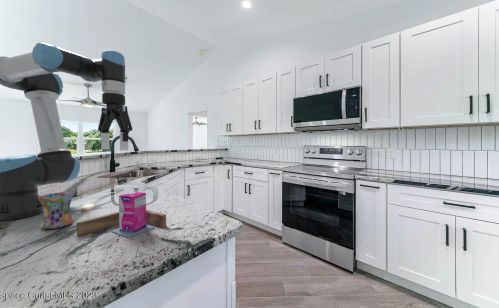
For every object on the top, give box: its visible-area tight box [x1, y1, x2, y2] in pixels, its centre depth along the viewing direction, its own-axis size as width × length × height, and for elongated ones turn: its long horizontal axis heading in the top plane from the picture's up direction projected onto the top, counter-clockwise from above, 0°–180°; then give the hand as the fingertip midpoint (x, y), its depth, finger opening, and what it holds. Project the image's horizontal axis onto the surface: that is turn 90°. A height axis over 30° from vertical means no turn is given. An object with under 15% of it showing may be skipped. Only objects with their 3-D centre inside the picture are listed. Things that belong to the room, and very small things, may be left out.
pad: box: [110, 224, 155, 238], centre depth 72 cm, size 9×9×1 cm
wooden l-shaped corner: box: [76, 209, 167, 237], centre depth 71 cm, size 17×19×4 cm
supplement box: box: [118, 191, 148, 232], centre depth 71 cm, size 6×6×12 cm
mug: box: [38, 191, 75, 230], centre depth 76 cm, size 12×9×11 cm
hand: (114, 149), depth 85 cm, fingers open, 13 cm apart
